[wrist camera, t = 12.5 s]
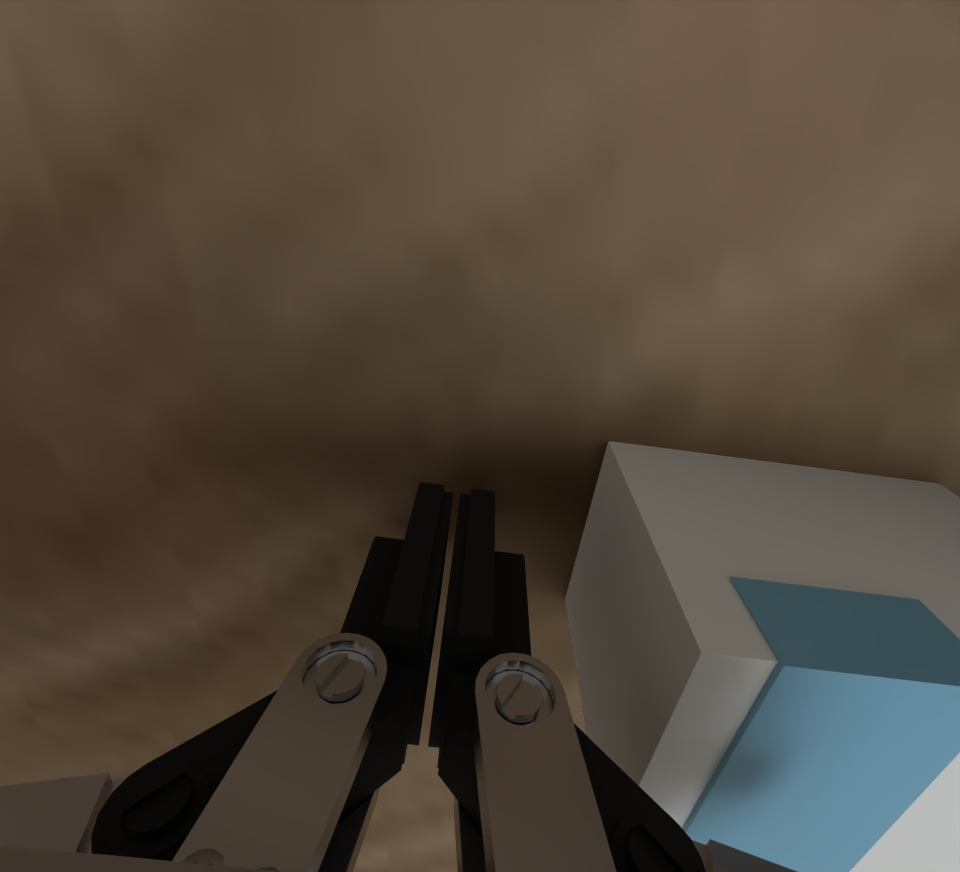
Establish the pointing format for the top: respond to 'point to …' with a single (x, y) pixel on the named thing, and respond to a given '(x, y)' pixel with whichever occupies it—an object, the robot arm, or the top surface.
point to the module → (776, 654)
